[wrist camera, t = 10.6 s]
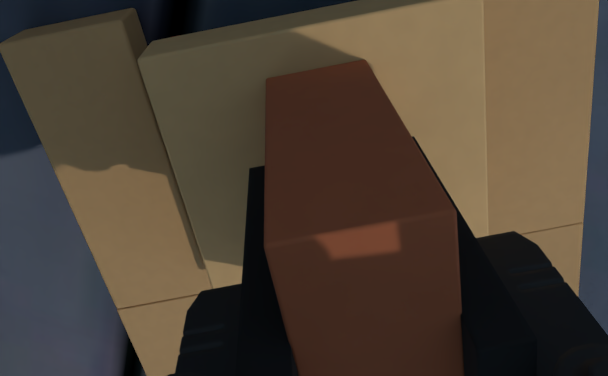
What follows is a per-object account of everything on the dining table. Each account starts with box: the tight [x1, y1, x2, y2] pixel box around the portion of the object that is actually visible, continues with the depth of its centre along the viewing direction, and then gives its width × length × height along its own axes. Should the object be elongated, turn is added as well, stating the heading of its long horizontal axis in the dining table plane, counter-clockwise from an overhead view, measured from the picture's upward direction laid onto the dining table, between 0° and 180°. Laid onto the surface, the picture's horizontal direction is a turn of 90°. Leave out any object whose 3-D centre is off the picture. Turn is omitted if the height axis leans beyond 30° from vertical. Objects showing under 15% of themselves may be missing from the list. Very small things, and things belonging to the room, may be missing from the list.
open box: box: [137, 0, 489, 376], centre depth 12 cm, size 8×8×9 cm
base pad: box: [0, 0, 599, 376], centre depth 19 cm, size 16×18×2 cm
